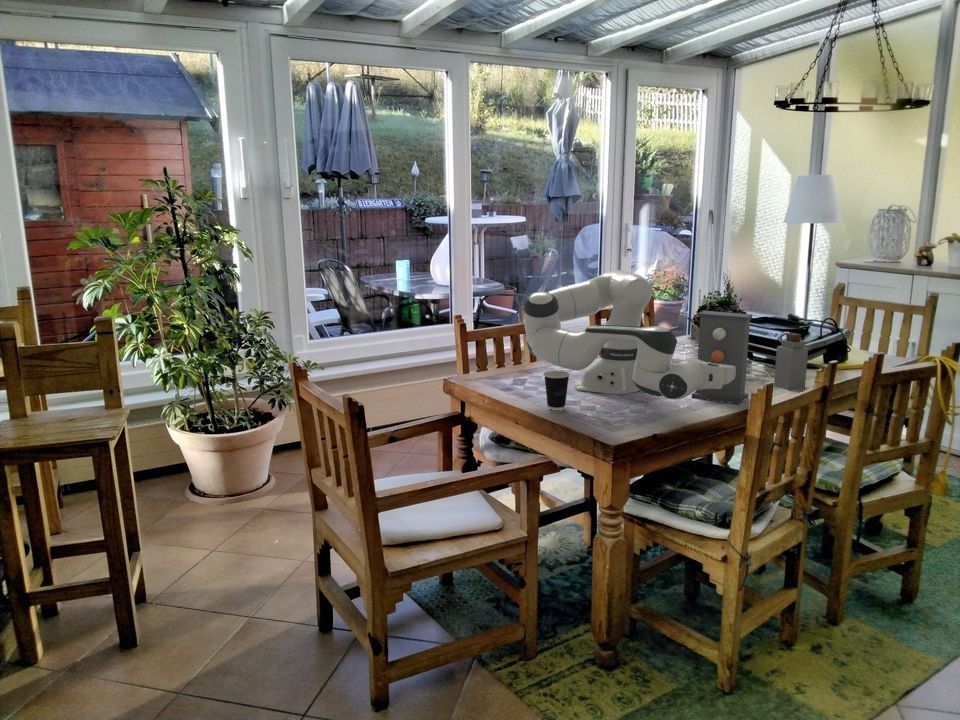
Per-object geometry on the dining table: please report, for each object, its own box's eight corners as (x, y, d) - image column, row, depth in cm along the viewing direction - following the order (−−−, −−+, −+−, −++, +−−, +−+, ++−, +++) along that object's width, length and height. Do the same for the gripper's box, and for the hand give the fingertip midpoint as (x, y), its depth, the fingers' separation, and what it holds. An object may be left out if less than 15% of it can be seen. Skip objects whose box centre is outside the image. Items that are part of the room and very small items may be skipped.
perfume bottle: (789, 383, 250) (794, 331, 246) (804, 388, 244) (809, 335, 240) (773, 385, 248) (778, 333, 243) (788, 390, 241) (793, 336, 237)
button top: (712, 339, 226) (712, 328, 225) (715, 337, 229) (716, 326, 228) (724, 340, 224) (724, 329, 223) (727, 338, 227) (727, 327, 226)
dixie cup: (561, 413, 219) (561, 378, 217) (538, 409, 224) (538, 374, 221) (573, 407, 226) (574, 372, 223) (551, 403, 230) (551, 369, 228)
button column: (691, 397, 235) (696, 314, 228) (701, 390, 243) (706, 309, 237) (739, 404, 226) (745, 318, 220) (747, 396, 235) (754, 313, 228)
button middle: (710, 361, 228) (711, 350, 227) (714, 359, 230) (714, 348, 230) (722, 363, 226) (723, 351, 225) (725, 360, 228) (726, 349, 228)
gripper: (655, 379, 212) (671, 370, 223) (726, 389, 201) (740, 379, 212) (656, 358, 211) (672, 349, 222) (728, 367, 200) (741, 357, 211)
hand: (706, 364), depth 217 cm, fingers closed
